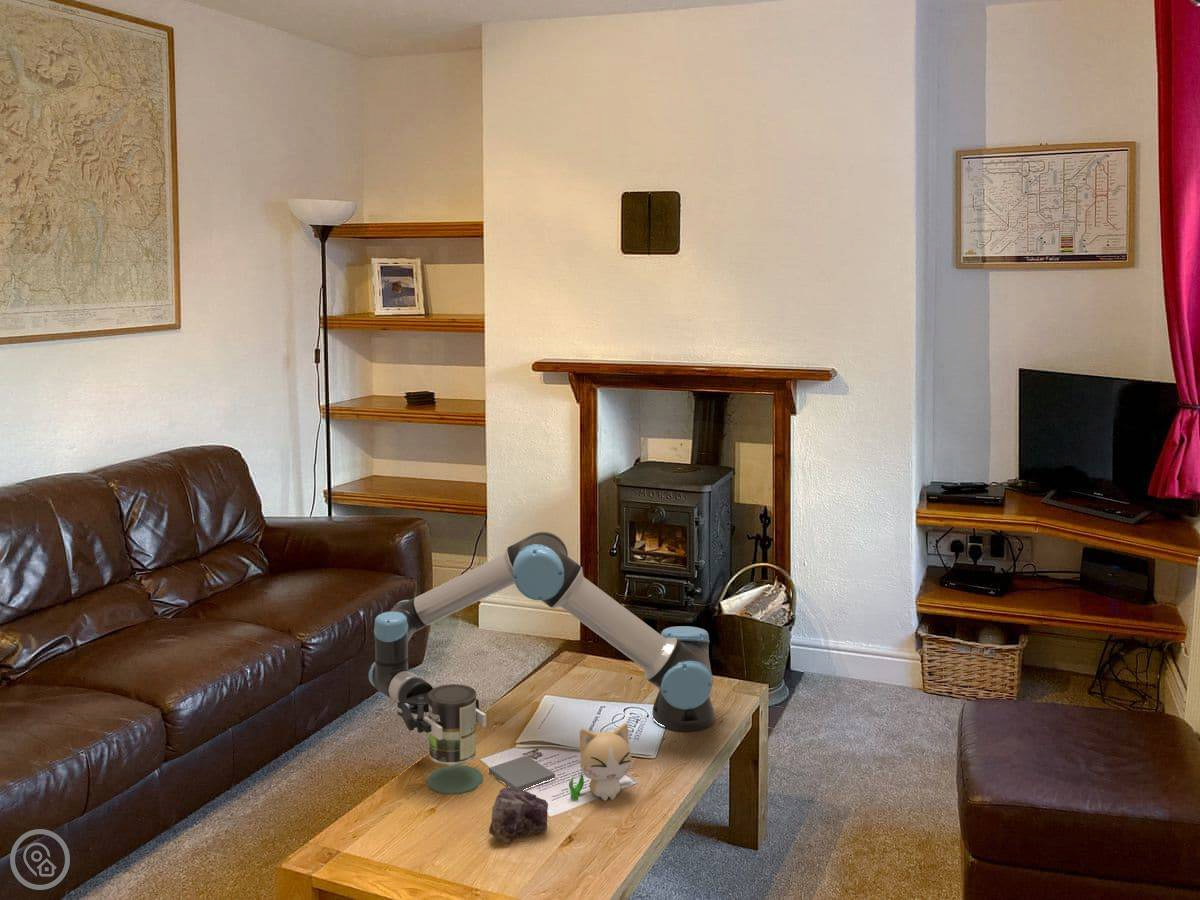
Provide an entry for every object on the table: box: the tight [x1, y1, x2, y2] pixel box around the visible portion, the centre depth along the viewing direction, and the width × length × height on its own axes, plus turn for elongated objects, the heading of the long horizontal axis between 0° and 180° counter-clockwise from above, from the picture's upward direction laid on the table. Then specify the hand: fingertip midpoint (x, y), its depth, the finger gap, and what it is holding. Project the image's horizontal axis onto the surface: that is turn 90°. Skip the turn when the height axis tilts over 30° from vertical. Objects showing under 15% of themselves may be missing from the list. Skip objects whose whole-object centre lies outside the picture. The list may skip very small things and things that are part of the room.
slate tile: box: [488, 755, 556, 791], centre depth 245 cm, size 2×10×11 cm
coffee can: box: [428, 683, 477, 766], centre depth 240 cm, size 10×10×14 cm
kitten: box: [568, 722, 633, 802], centre depth 236 cm, size 15×10×15 cm, turn 106°
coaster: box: [426, 764, 484, 795], centre depth 243 cm, size 12×12×1 cm
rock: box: [488, 787, 549, 844], centre depth 221 cm, size 12×9×10 cm
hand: (463, 727), depth 237 cm, fingers closed on coffee can, 10 cm apart
